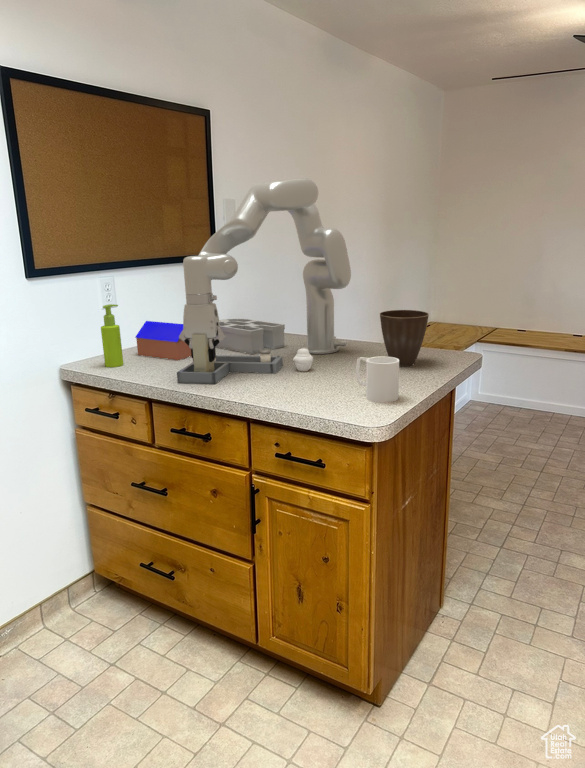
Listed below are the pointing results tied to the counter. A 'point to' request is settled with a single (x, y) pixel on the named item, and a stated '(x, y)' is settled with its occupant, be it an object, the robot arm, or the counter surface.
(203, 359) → the skincare box
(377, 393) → the cup
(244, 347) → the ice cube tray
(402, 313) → the plant pot
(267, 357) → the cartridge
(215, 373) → the tray
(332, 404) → the counter surface
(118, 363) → the soap dispenser
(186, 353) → the house
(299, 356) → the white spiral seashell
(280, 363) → the grey rectangular frame
